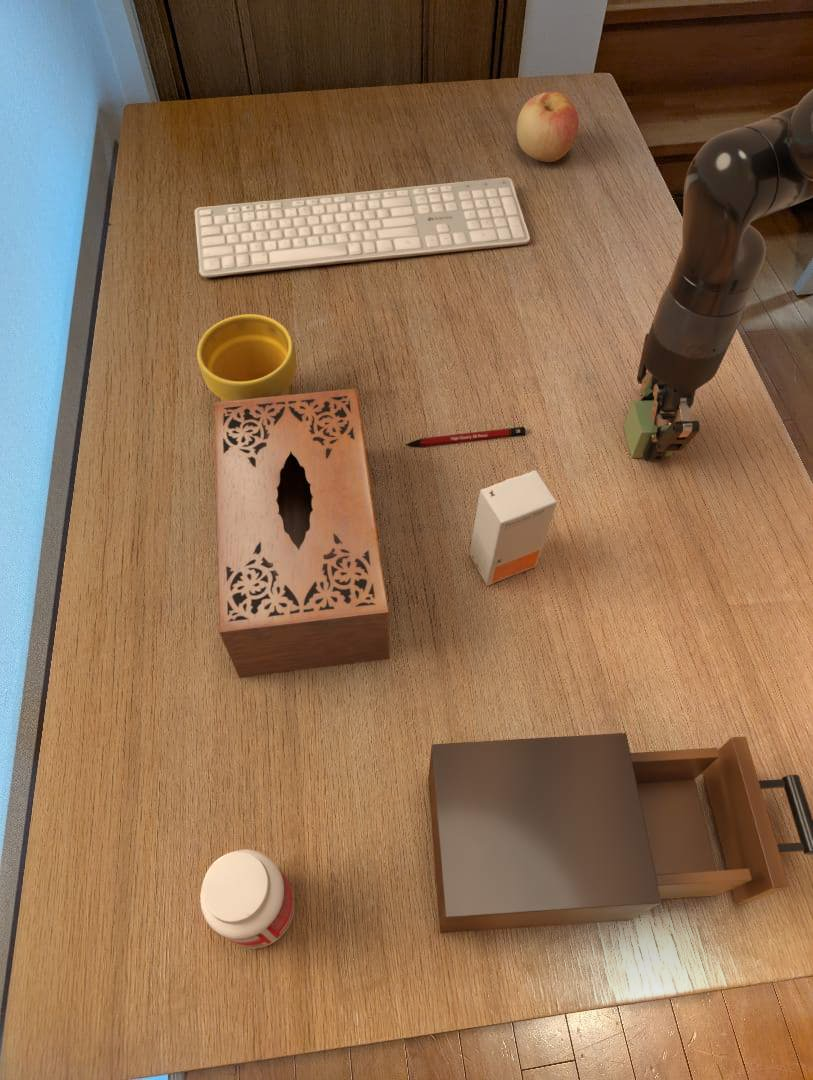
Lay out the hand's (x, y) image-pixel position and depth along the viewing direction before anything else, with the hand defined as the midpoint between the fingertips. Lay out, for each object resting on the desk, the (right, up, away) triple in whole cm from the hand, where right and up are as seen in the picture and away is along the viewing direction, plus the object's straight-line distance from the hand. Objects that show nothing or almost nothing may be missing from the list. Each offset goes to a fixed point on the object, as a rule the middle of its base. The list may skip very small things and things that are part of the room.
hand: (647, 439), depth 93 cm
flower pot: (-45, +4, +3) cm, 45 cm away
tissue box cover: (-38, -13, -7) cm, 41 cm away
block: (0, 0, 0) cm, 0 cm away
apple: (-7, +46, +29) cm, 55 cm away
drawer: (-4, -36, -23) cm, 43 cm away
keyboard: (-33, +30, +19) cm, 49 cm away
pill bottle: (-39, -42, -25) cm, 63 cm away
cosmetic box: (-17, -14, -8) cm, 23 cm away
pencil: (-21, 0, +1) cm, 21 cm away
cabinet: (-17, -38, -23) cm, 47 cm away
